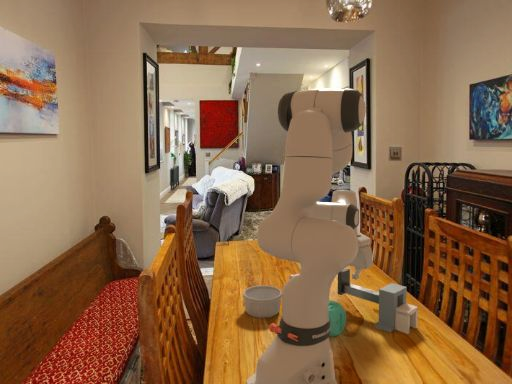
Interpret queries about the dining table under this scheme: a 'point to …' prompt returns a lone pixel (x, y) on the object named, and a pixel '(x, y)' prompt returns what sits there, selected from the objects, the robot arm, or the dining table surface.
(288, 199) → the robot arm
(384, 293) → the bearing block
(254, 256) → the dining table surface
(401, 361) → the dining table surface
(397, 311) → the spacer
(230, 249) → the dining table surface
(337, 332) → the decorative dice
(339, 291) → the shaft
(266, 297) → the ramekin
